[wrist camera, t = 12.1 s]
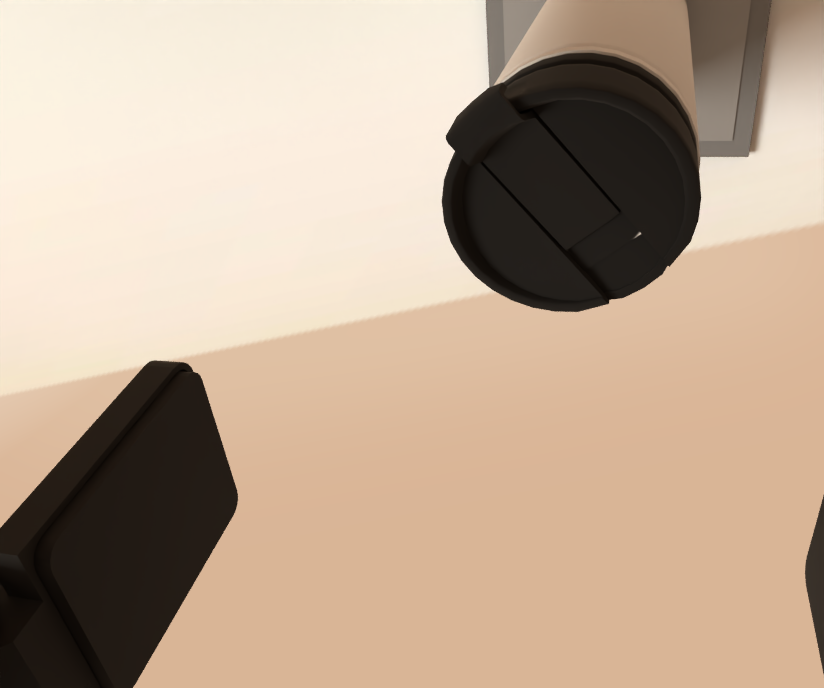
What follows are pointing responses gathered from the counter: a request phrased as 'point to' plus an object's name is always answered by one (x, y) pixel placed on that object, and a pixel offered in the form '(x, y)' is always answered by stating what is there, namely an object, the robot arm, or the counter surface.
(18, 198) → the counter surface
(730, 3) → the mat
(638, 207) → the travel mug
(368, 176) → the counter surface
